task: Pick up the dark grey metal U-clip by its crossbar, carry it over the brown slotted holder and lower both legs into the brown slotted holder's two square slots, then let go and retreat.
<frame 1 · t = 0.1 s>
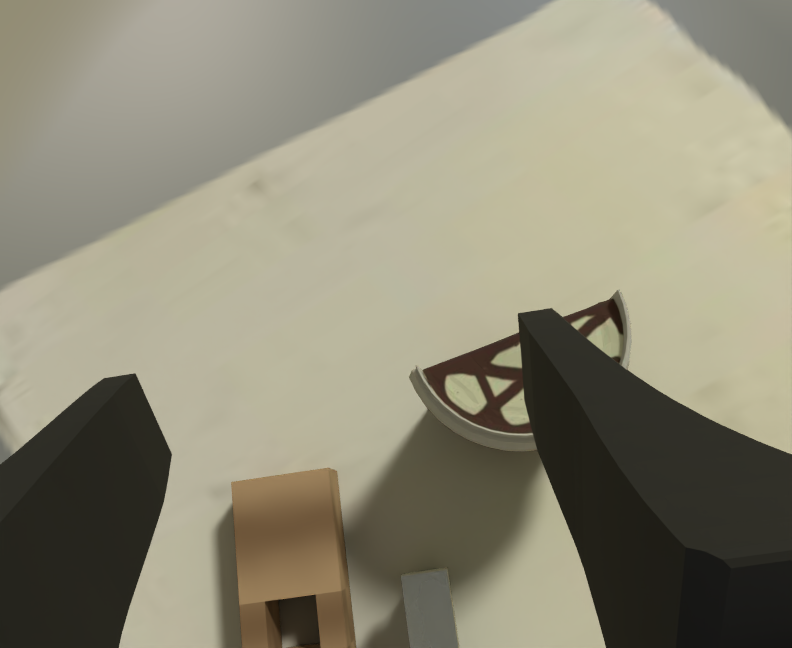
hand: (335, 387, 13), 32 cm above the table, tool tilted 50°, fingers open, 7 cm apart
clip: (437, 627, 41), on the table
food container: (523, 412, 44), on the table
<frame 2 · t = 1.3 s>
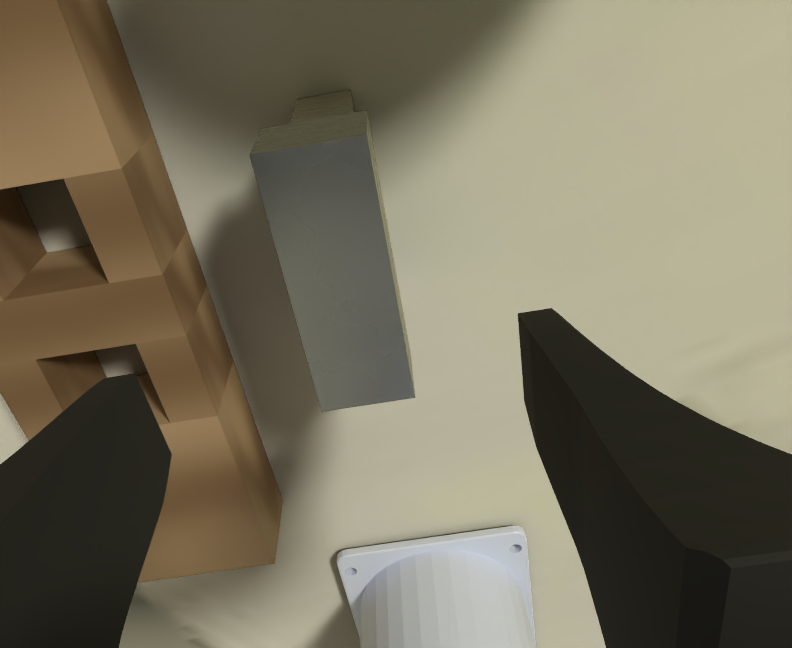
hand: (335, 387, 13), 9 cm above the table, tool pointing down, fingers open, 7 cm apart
clip: (346, 202, 21), on the table
brown slotted holder: (105, 273, 22), on the table
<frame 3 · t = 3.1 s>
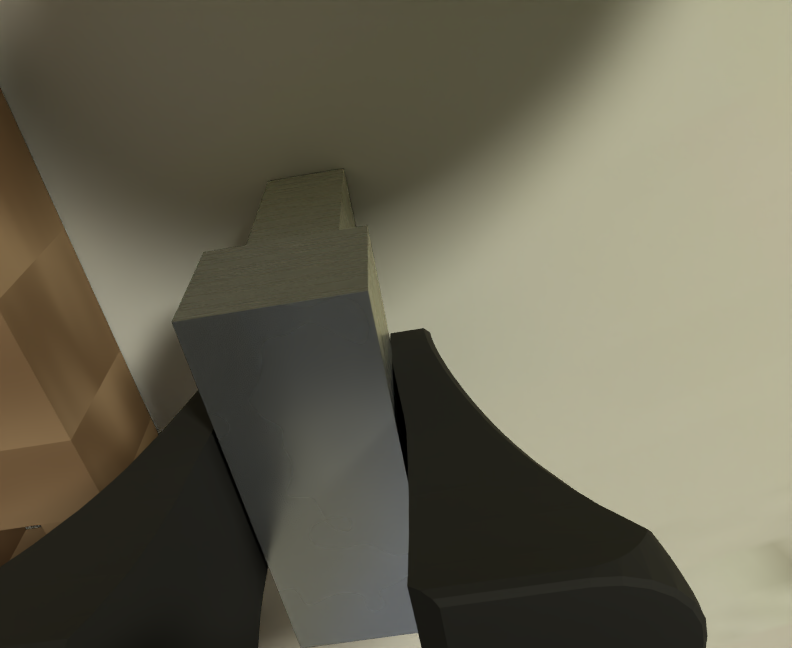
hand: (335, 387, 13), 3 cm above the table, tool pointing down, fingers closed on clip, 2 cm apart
clip: (339, 315, 15), on the table, touching gripper
brown slotted holder: (11, 404, 16), on the table
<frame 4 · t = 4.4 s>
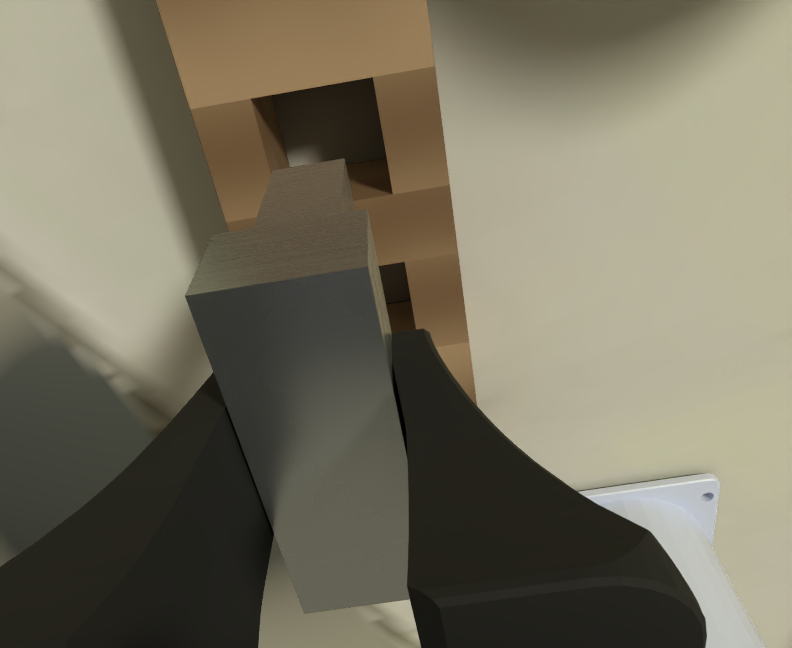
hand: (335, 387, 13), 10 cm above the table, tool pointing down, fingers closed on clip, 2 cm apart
clip: (340, 300, 16), point 6 cm above the table, touching gripper
brown slotted holder: (346, 197, 21), on the table
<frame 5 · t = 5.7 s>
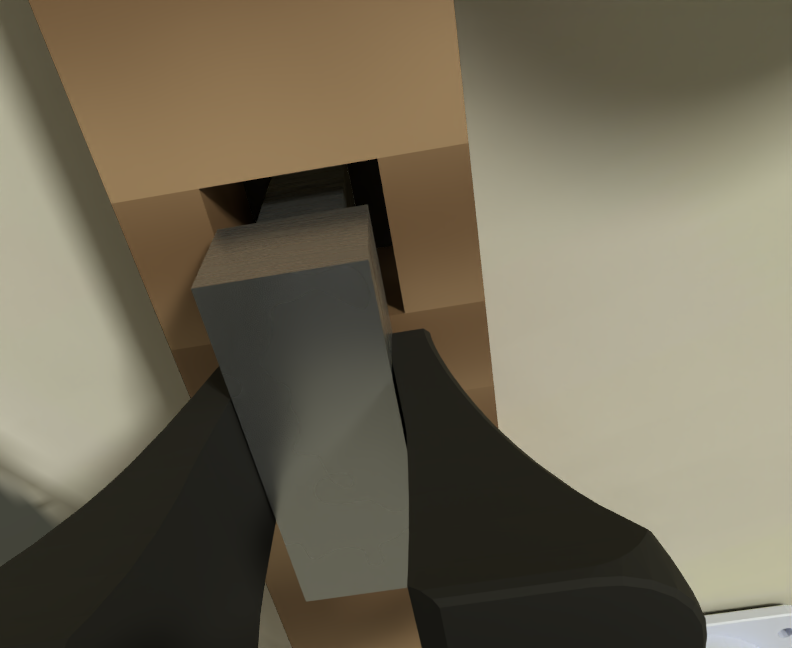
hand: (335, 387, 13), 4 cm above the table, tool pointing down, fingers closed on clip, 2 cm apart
clip: (341, 295, 16), resting in brown slotted holder, touching gripper
brown slotted holder: (341, 293, 16), on the table
when the fingers open (4 cm above the table, at t = 6.0 s): clip stays where it is, resting in brown slotted holder.
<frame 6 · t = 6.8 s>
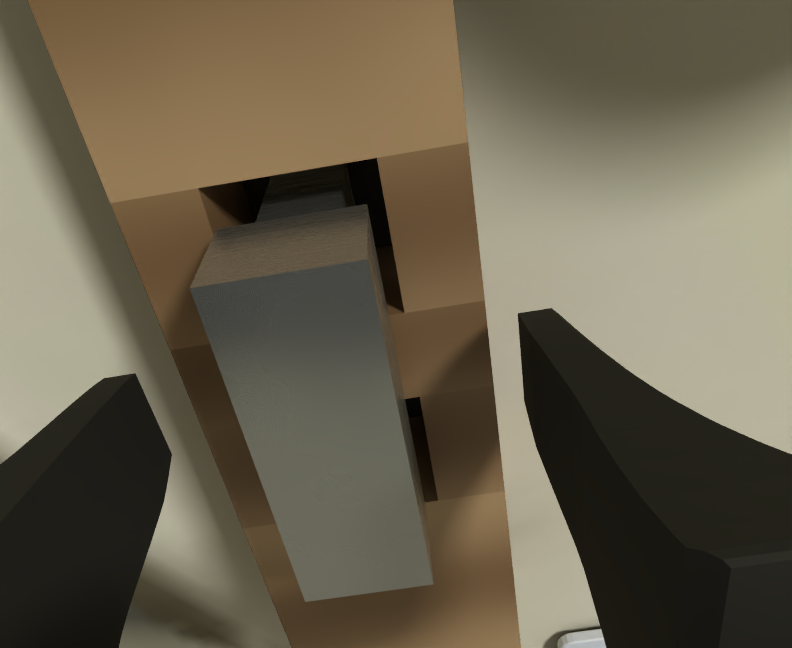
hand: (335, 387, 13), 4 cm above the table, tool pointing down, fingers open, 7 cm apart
clip: (340, 295, 16), resting in brown slotted holder
brown slotted holder: (340, 293, 16), on the table
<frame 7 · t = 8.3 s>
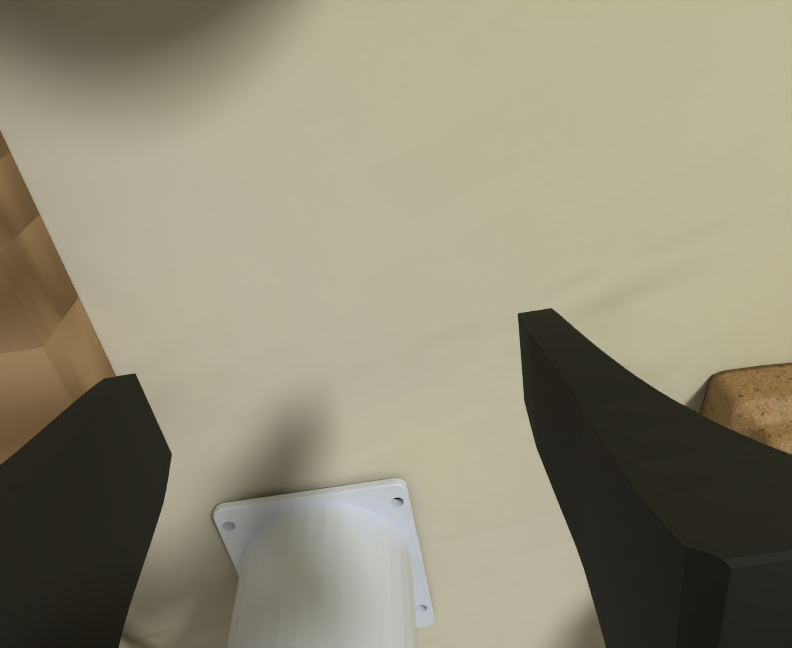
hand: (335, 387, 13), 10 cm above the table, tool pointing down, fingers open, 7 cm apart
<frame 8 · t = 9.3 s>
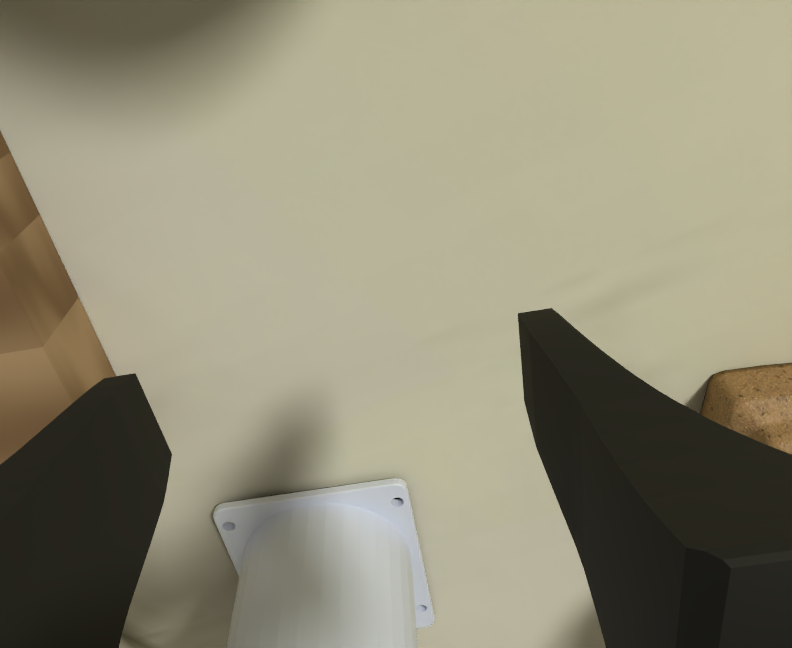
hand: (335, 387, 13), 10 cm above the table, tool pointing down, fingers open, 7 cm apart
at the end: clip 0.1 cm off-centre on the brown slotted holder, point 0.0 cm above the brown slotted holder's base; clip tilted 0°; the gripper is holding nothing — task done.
